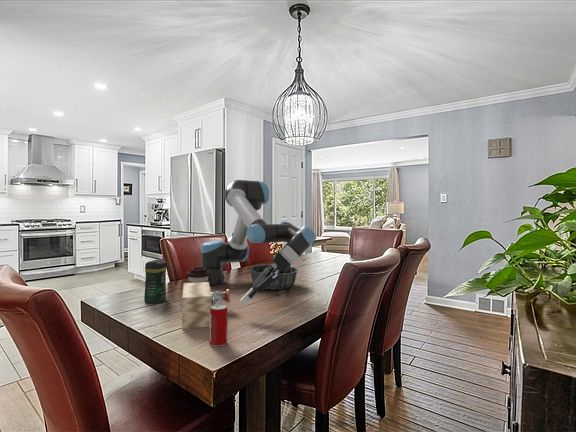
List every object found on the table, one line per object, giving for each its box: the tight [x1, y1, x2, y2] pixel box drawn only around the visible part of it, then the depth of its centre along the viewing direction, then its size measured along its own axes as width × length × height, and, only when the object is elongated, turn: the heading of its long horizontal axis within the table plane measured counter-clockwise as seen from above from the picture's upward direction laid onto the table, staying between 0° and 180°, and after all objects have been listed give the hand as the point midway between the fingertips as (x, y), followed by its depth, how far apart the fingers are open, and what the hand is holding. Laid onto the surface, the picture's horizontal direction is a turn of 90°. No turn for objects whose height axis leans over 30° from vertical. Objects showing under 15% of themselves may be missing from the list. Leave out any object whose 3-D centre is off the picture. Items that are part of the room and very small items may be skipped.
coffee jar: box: [143, 258, 167, 304], centre depth 142 cm, size 10×8×19 cm
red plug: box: [211, 288, 231, 304], centre depth 130 cm, size 12×6×6 cm, turn 107°
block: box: [181, 282, 212, 330], centre depth 122 cm, size 10×22×11 cm, turn 17°
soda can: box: [208, 303, 229, 348], centre depth 99 cm, size 6×6×12 cm
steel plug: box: [180, 297, 217, 314], centre depth 117 cm, size 12×6×6 cm, turn 107°
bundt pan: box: [249, 263, 299, 291], centre depth 173 cm, size 26×26×10 cm
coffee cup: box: [186, 266, 210, 283], centre depth 142 cm, size 10×10×15 cm
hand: (242, 302), depth 122 cm, fingers closed
